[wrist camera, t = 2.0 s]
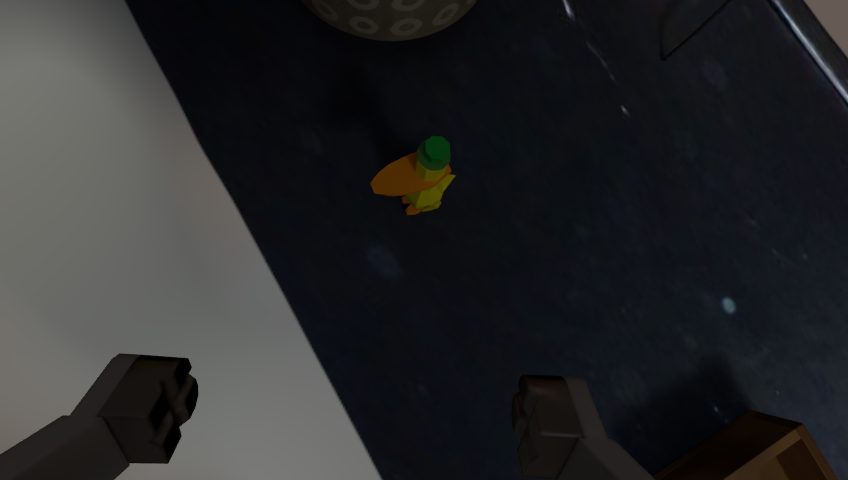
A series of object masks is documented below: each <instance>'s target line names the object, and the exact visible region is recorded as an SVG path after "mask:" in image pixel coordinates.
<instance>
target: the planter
mask: <svg viewBox="0 0 848 480" xmlns="http://www.w3.org/2000/svg"><path fill="white" fill-rule="evenodd" d="M301 1H302V3H303V4H304V5H305V6H306V7H307V8H308V9H309V10H310V11H311V12H313V13H314V14H315V15H316V16H318V17H319V18H320V19H322V20H323V21H325V22H326V23H328V24H330V25H331V26H333V27H335V28H337V29H339V30H342V31H344V32H346V33H349V34H352V35H355V36H358V37H362V38H367V39H372V40H380V41H404V40H411V39H416V38H421V37H425V36H428V35H430V34H433V33H436V32H438V31H440V30H443V29H444V28H446V27H448V26H450V25H451V24H453V23H454V22H456V21H457V20H458V19H460V18H461V17H462V16H463V15H464V14H465V13H467V12H468V10H469V9H470V8H471V7H472V6H473V5H474V4H475V2H476V1H477V0H301Z"/></svg>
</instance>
